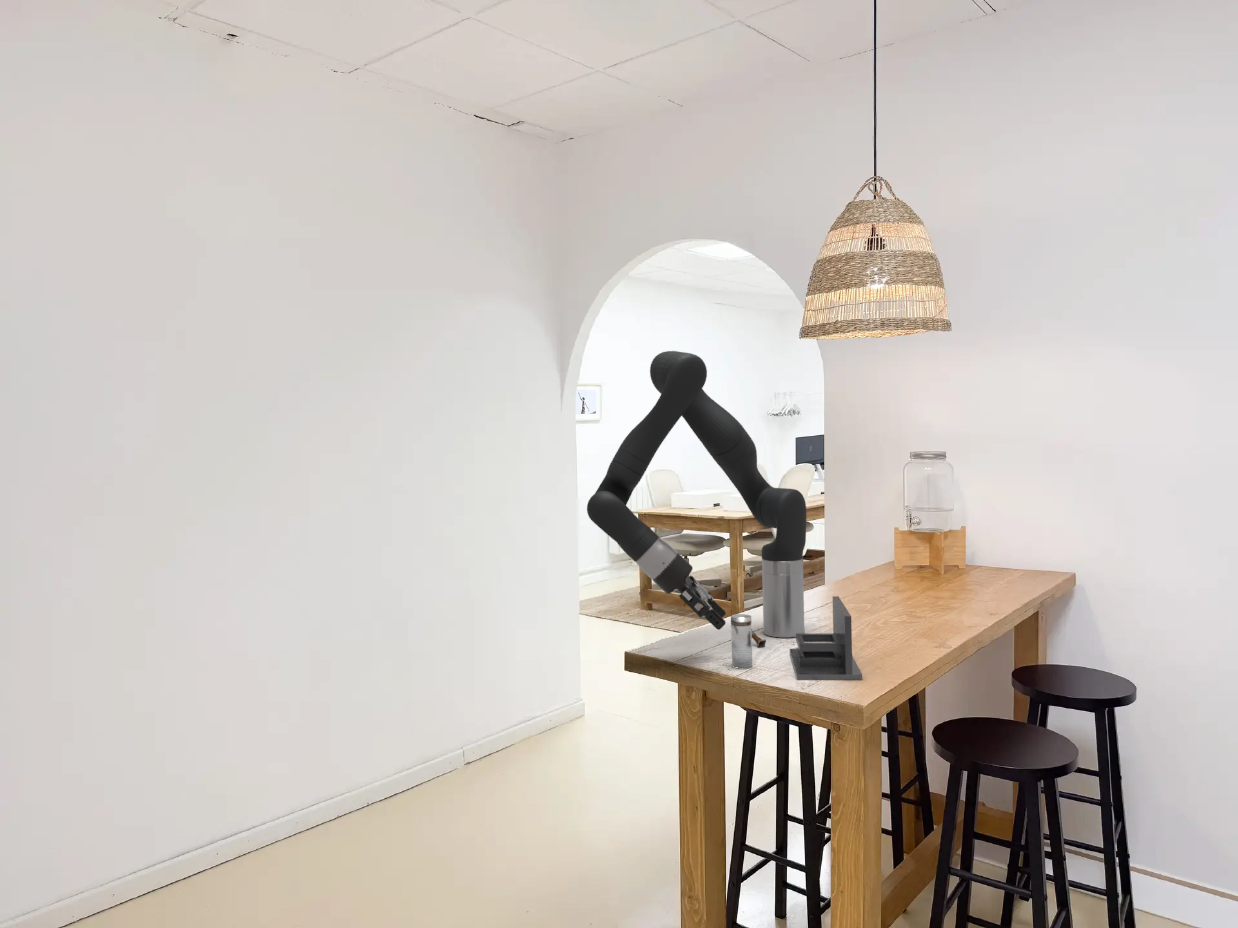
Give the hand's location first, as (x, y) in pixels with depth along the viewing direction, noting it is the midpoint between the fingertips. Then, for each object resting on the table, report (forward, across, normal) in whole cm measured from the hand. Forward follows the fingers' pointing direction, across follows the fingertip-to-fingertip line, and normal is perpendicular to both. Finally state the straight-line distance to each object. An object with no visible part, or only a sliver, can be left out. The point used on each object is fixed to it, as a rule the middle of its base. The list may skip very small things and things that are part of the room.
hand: (722, 621), depth 171 cm
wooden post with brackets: (+11, +17, +2) cm, 20 cm away
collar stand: (+20, 0, -8) cm, 22 cm away
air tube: (+9, 0, +4) cm, 10 cm away
